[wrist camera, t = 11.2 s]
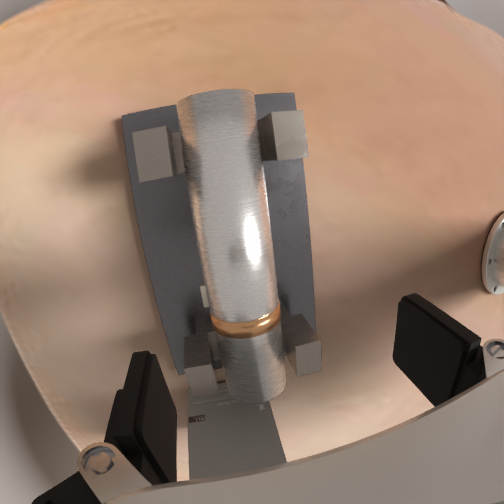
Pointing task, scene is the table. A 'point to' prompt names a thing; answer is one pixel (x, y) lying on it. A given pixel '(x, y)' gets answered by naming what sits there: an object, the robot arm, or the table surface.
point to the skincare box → (230, 435)
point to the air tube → (234, 238)
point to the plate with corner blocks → (185, 245)
